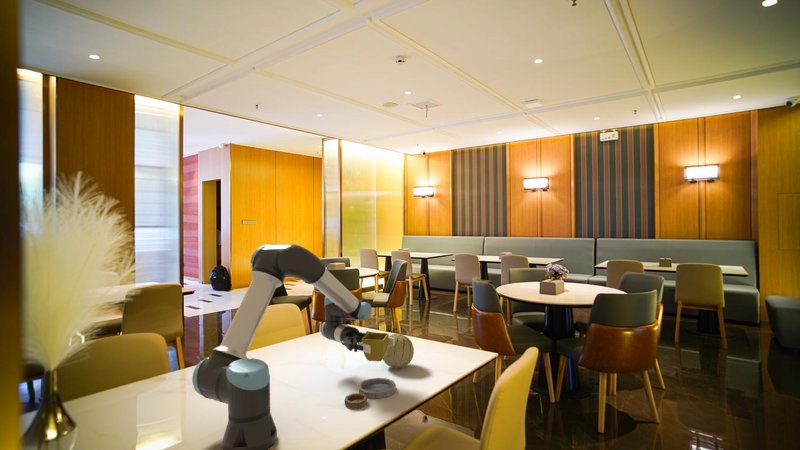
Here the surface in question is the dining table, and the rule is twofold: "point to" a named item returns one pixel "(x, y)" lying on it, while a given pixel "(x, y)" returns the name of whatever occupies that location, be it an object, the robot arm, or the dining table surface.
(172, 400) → the dining table surface
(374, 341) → the flower pot
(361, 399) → the brown octagonal saucer
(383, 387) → the grey saucer
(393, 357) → the cantaloupe
